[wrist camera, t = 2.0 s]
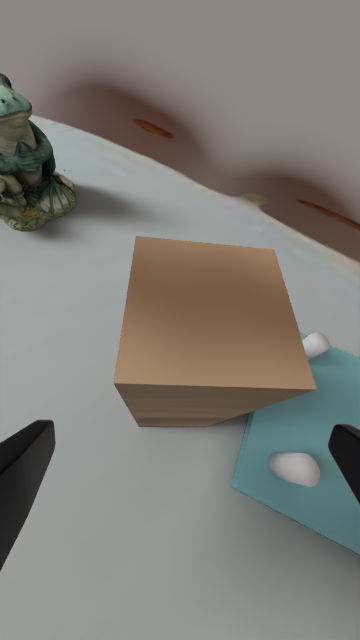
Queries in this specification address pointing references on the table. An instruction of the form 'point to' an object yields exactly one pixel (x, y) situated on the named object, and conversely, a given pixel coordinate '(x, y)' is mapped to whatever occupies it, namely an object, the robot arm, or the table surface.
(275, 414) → the peg plate
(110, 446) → the table surface
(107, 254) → the table surface
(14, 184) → the frog figurine
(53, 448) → the robot arm
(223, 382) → the walnut pillar
